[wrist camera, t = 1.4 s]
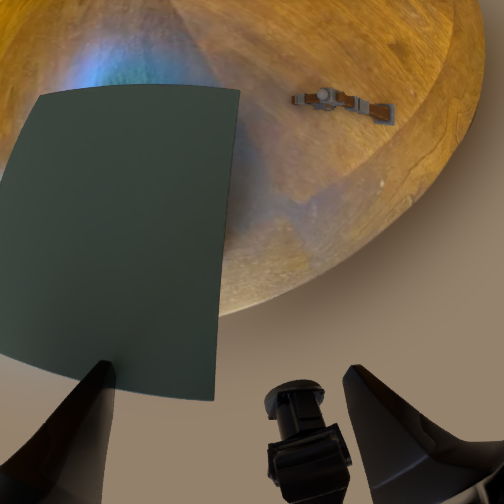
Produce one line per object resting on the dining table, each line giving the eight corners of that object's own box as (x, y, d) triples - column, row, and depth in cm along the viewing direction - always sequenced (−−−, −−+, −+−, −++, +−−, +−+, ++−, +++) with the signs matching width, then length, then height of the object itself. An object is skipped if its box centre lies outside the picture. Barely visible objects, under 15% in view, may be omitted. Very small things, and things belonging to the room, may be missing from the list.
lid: (213, 395, 9) (214, 402, 9) (-13, 342, 7) (-23, 343, 7) (238, 100, 12) (240, 89, 11) (44, 102, 10) (39, 94, 9)
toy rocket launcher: (281, 86, 16) (328, 78, 13) (354, 103, 20) (397, 104, 16) (281, 110, 17) (328, 106, 13) (353, 122, 21) (397, 126, 17)
